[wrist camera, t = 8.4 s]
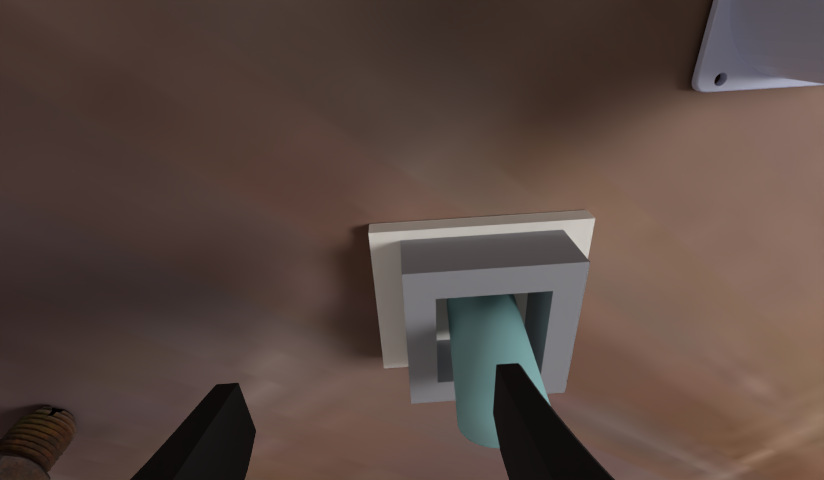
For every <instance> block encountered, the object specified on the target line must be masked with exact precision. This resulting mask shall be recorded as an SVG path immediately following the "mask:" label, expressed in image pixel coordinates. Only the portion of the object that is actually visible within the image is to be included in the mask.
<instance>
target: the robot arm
mask: <svg viewBox="0 0 824 480" xmlns="http://www.w3.org/2000/svg"><path fill="white" fill-rule="evenodd" d="M718 74H720V79H719V81H718V82H717V83H716V84H715V83H714V80H715V78H716V76H717V75H718ZM818 85H824V0H713V4H712V7H711V11H710V15H709V18H708V22H707V26H706V30H705V33H704V37H703V41H702V44H701V48H700V52H699V55H698V59H697V63H696V67H695V70H694V74H693V78H692V87H693V89H694V90H696V91H700V92H719V91H736V90H752V89H769V88H785V87H802V86H818ZM493 417H494V422H495V427H496V432H497V437H498V442H499V446H500V451H501V454H502V458H503V461H504V464H505V467H506V471H507V474H508V477H509V480H615V479H614V478H613V477H612V476H611V475H610V474H609V473H608V472H607V471H606V470H605V469H604V468H603V467H602V466H601V465H600V464H599V462H598V461H597V460H596V459H595V458H594V457H593V456H592V455H591V454H590V453H589V451H588V450H587V449H586V448H585V447H584V446H583V445H582V444H581V442H580V441H579V440H578V439H577V438H576V437H575V435H574V434H573V433H572V432H571V431H570V429H569V428H568V427H567V426H566V425H565V423H564V422H563V421H562V420H561V418H560V417H559V416H558V415H557V414H556V412H555V411H554V410H553V409H552V407H551V406H550V405H549V403H548V402H547V401H546V399H545V398H544V397H543V395H542V394H541V393H540V391H539V390H538V389H537V387H536V386H535V385H534V383H533V382H532V380H531V379H530V378H529V376H528V375H527V373H526V372H525V370H524V369H523V367H522V366H521V365H520V364H519V363H510V364H496V376H495V390H494V404H493ZM255 433H256V429H255V427H254V424H253V421H252V419H251V416H250V413H249V410H248V408H247V405H246V402H245V400H244V397H243V394H242V391H241V389H240V386H239V383H230V384H216V386H215V387H214V388H213V389H212V390H211V391H210V392H209V393H208V394H207V395H206V397H205V398H204V399H203V400H202V401H201V402H200V403H199V404H198V406H197V407H196V408H195V409H194V410H193V411H192V412H191V414H190V415H189V416H188V417H187V418H186V419H185V420H184V422H183V423H182V424H181V425H180V426H179V427H178V428H177V430H176V431H175V432H174V433H173V434H172V435H171V436H170V437H169V438H168V440H167V441H166V442H165V443H164V444H163V445H162V446H161V447H160V448H159V449H158V451H157V452H156V453H155V454H154V455H153V456H152V457H151V458H150V459H149V460H148V462H147V463H146V464H145V465H144V466H143V467H142V468H141V469H140V470H139V471H138V472H137V473H136V474H135V475H134V476H133V477H132V478H131V479H130V480H244V479H245V476H246V473H247V470H248V466H249V461H250V457H251V453H252V448H253V443H254V438H255Z"/></svg>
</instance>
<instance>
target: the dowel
mask: <svg viewBox="0 0 824 480" xmlns="http://www.w3.org/2000/svg"><path fill="white" fill-rule="evenodd" d="M447 313H448V323H449V334H450V345H451V356H452V367H453V378H454V389H455V399H456V410H457V421H458V427H459V429H460V431H461V433H462V434H463V435H464V436H465V437H466V438H467V439H469V440H470V441H472V442H474V443H476V444H479V445H482V446H485V447H491V448H500V446H499V442H498V437H497V432H496V427H495V422H494V417H493V404H494V390H495V376H496V364H510V363H519V364H520V365H521V366H522V367H523V369H524V370H525V372H526V373H527V375H528V376H529V378H530V379H531V380H532V382H533V383H534V385H535V386H536V387H537V389H538V390H539V391H540V393H541V394H542V395H543V397H544V398H545V399H546V401H547V402H548V403H549V400H548V397H547V394H546V391H545V388H544V385H543V382H542V379H541V376H540V372H539V369H538V366H537V363H536V360H535V357H534V354H533V351H532V348H531V345H530V342H529V339H528V336H527V333H526V330H525V327H524V324H523V321H522V318H521V315H520V312H519V309H518V305H517V302H516V299H515V296H514V294H502V295H487V296H473V297H458V298H447ZM549 405H550V403H549Z"/></svg>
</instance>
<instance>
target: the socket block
mask: <svg viewBox="0 0 824 480" xmlns="http://www.w3.org/2000/svg"><path fill="white" fill-rule="evenodd" d="M594 223H595V218H594V217H593V216H592V215H591V214H590V213H589V212H588V211H587V210H576V211H561V212H546V213H531V214H515V215H500V216H485V217H469V218H454V219H439V220H423V221H408V222H393V223H377V224H369V232H368V235H369V243H370V252H371V260H372V269H373V278H374V286H375V295H376V303H377V312H378V321H379V329H380V338H381V347H382V355H383V364H384V368H396V367H409V379H410V393H411V403H425V402H439V401H453V400H456V399H455V389H454V378H453V367H452V356H451V345H450V334H449V323H448V313H447V298H458V297H473V296H487V295H502V294H514V296H515V299H516V302H517V305H518V309H519V312H520V315H521V318H522V321H523V324H524V327H525V330H526V333H527V336H528V339H529V342H530V345H531V348H532V351H533V354H534V357H535V360H536V363H537V366H538V369H539V372H540V376H541V379H542V382H543V385H544V388H545V391H546V394H549V393H562V392H565V388H566V383H567V378H568V373H569V367H570V362H571V357H572V352H573V347H574V342H575V337H576V331H577V326H578V321H579V316H580V311H581V306H582V301H583V295H584V290H585V285H586V280H587V275H588V270H589V265H590V261H589V260H588V254H589V249H590V244H591V238H592V233H593V228H594Z"/></svg>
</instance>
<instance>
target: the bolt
mask: <svg viewBox="0 0 824 480" xmlns="http://www.w3.org/2000/svg"><path fill="white" fill-rule="evenodd" d="M51 411H52V407H50V406H44V407H42V408H41V409H40V410H37V411H35V412H33V413H31V414H29V415H26V416H23V417H21V418H20V419H19V420H18V421H17V423H15V424H14V425H13V427H12V428H10V429H9V431H8V432H7V433H6V434H5V435H4V436H3V438H2V439H0V480H50V476H49V475H48V473H47V472H48V471H50V469H51V467H52V466H53V465H54V464H55V461H57V460H58V458H59V456H61V455H62V453H63V451H65V449H66V448H67V446H69V444H70V443H71V441H72V440H73V439H74V436H75V435H76V433H77V429H76V424H75V420H74V418H73V415H71V414H70V413H69V412H67V411H62V412H56V413H55V414H54V415H52V416H48V415H49V414H50V412H51ZM47 416H48V417H47Z"/></svg>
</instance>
